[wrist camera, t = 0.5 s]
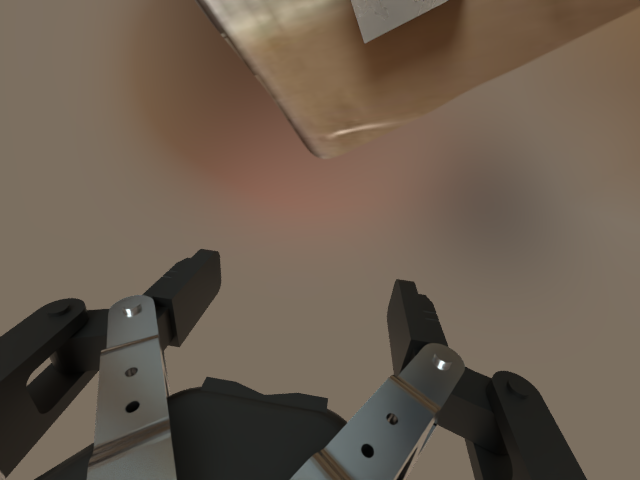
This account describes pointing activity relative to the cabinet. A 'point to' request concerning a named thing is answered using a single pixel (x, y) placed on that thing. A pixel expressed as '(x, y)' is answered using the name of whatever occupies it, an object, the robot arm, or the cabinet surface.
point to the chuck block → (388, 14)
